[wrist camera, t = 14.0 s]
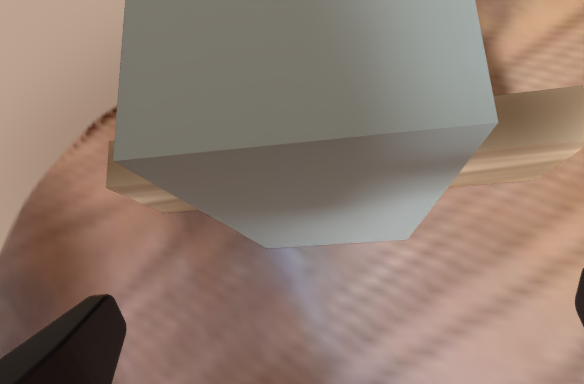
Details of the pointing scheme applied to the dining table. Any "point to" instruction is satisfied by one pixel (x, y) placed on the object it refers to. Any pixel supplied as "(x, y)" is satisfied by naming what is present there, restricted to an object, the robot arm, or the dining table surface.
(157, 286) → the dining table surface
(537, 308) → the dining table surface
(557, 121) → the slotted board
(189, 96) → the pale grey upright block
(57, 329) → the robot arm
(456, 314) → the dining table surface
